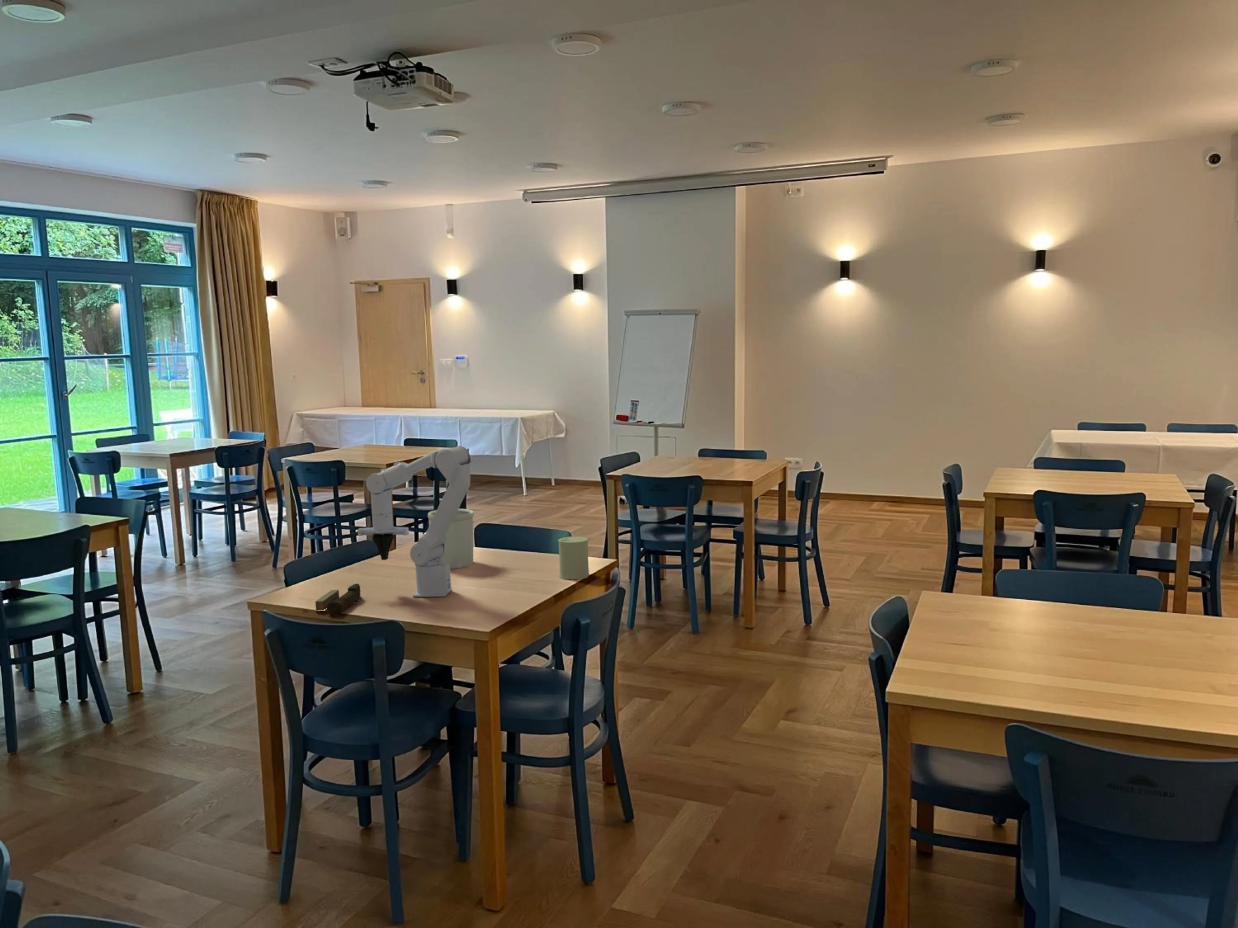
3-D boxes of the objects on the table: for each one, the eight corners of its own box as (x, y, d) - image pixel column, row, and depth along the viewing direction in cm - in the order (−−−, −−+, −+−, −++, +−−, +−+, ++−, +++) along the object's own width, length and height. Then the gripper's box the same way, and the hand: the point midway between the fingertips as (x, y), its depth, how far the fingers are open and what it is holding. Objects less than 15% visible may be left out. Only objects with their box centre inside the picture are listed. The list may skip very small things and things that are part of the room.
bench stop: (339, 600, 254) (338, 589, 254) (323, 612, 242) (322, 601, 242) (332, 600, 254) (331, 589, 254) (316, 612, 242) (315, 601, 242)
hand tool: (341, 616, 238) (340, 599, 238) (327, 616, 239) (326, 599, 238) (369, 597, 257) (368, 582, 256) (355, 597, 257) (355, 581, 257)
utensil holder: (478, 558, 303) (476, 507, 301) (472, 568, 288) (470, 515, 286) (434, 560, 303) (431, 508, 301) (426, 570, 288) (424, 516, 286)
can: (556, 574, 278) (554, 536, 277) (584, 571, 281) (583, 533, 280) (563, 580, 270) (562, 541, 268) (592, 577, 272) (591, 539, 271)
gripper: (353, 516, 257) (355, 562, 259) (402, 515, 256) (405, 561, 258) (361, 512, 264) (364, 557, 266) (409, 511, 263) (412, 556, 265)
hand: (384, 559), depth 262 cm, fingers closed
